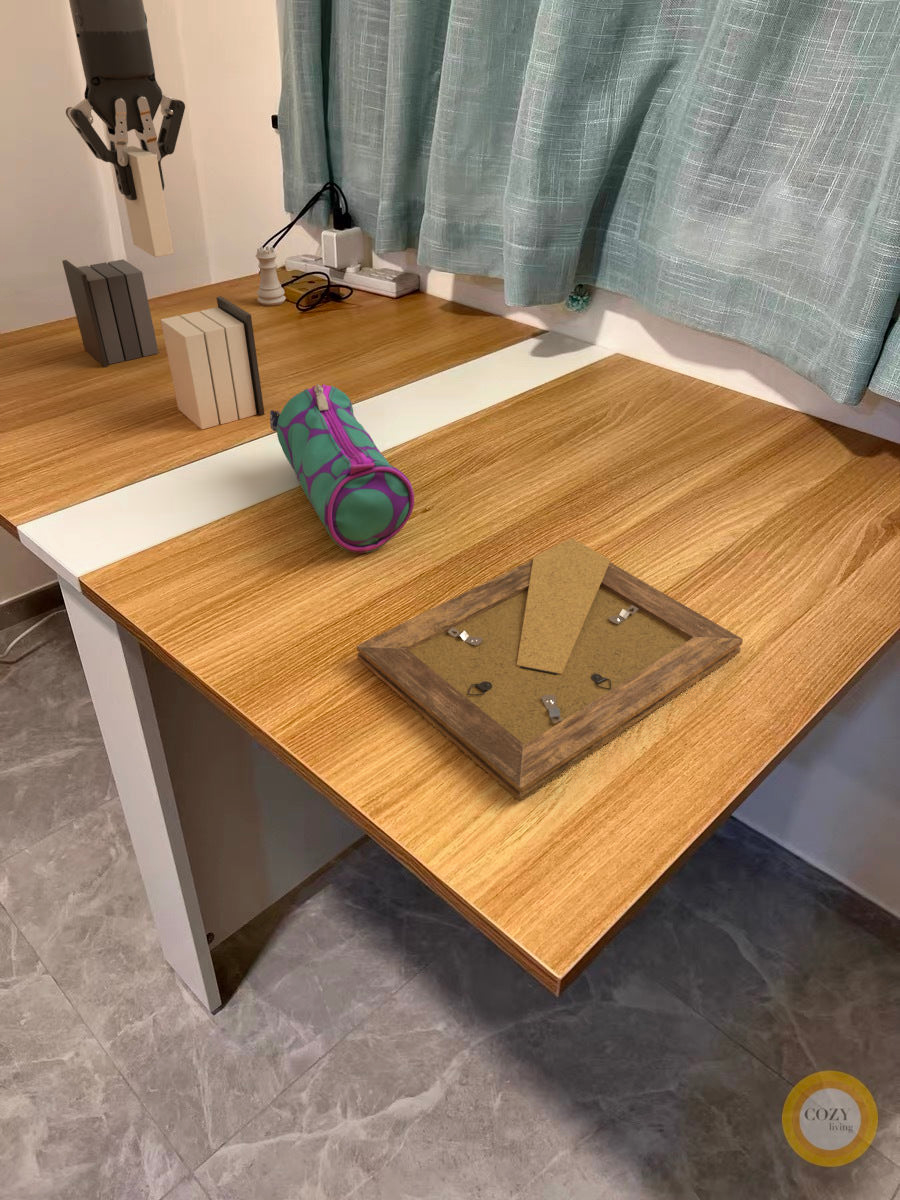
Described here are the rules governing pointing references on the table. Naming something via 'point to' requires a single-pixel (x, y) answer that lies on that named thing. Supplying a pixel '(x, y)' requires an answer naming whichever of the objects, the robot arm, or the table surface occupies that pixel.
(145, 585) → the table surface
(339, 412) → the pencil case
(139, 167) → the white book
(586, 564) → the picture frame
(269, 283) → the rook chess piece
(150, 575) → the table surface
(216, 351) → the white books
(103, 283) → the grey books
